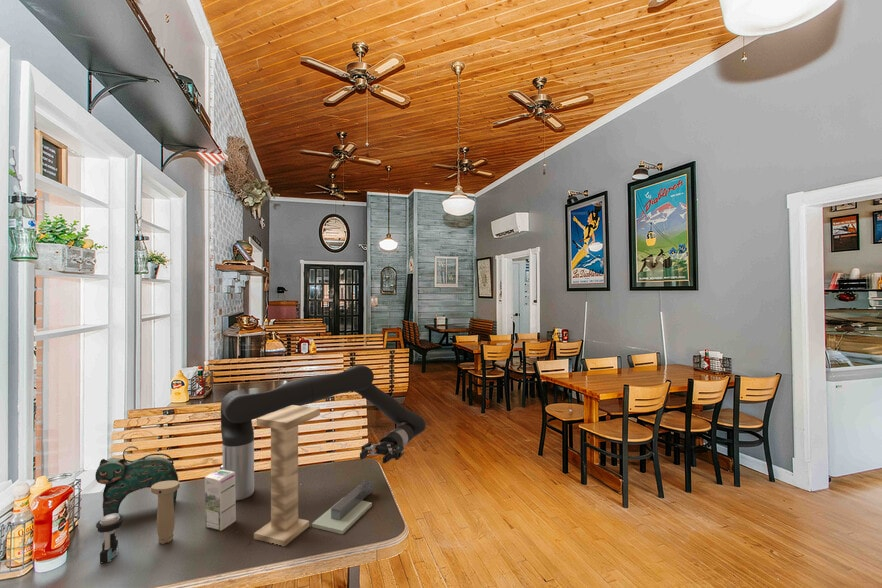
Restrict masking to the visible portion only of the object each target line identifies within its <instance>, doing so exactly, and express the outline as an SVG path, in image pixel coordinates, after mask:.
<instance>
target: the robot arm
mask: <svg viewBox="0 0 882 588" xmlns="http://www.w3.org/2000/svg"><path fill="white" fill-rule="evenodd" d="M374 378H375V374H374V372H373V370H372V369H371V367H369V366H366V365H360V364H359V365H353V366H350V367H348V368H346V370H344V371H340V372H336V373H329V374H327V373H326V374H318V375H312V376H306V377H301V378H297V379H293V380H291V381H288V382H285V383H284V384H281V385H280V386H278V387H275V388H273V389H270V390H267V391H262V392H258V393H250V394H249V393H247V391H244V390H241V389H240V390H238V389H237V390H232V391H229V392H228V393H227V394H226V395H225V396H224V397H223V399H222V400H221V403H220V433H221V439H222V441H221V442H222V445H221V446H222V449H221V450H222V465H220V468H219V470H220V469H222V470H227V471H233V472H235V494H236V502H237V501H240V500H244V499H247V498H249V497H251V496H252V495H253V494H254V491H255V433H254V428H253V420H255V419H257V418H259V417H262V416H264V415H267V414H270V413H272V412H275V411H277V410H280V409H283V408H285V407H288V406H290V405H297V406H306V405H309V404H313V403H316V402H319V401H323V400H325V399H329V398H331V397H333V396H335V395H338V394H342V393H347V392H355V393H356V394H358V395H360V396H361V397H363V399H365V400H367V401H368V402H370V403H371V404H372V405H373V406H375V407H376V408H377V409H378V410H379V411H380V412H382V414H384V416H386V417H387V418H388V419H389V420H390V421H391V422H393V423H394V424H395V425H399V424H400V425H399V426H397V427H396V428H395V429H393V430H390V431H389V432H388V433H386V434H385V435H384V436H382V437H381V439H380V441H379V442H377V443H373V441H368V442H366V443H365V444H363V445H362V446H361V447H360V449H361V451H360V452H359V458H360V460H364V459H365V458H367V457H369V456H377V455H379V456H380V455H382V456H383V457H382V464H386V463H388V462H389V461H392V460H394V461H398V460H400V458H401V457H403V456H404V453H405V446H406V445H407V444H408V443H410V442H411V441H412V440H413V438H415V437H417V436H418V435H419V434H421V433H423V432H424V431H425V430H426V428H427V424H426V420H425V419H424V418H423V417H422V416H421V415H420V414H418V413H416V412H414V411H412V410H409V409H408V408H406V407H404V406H403V405H402V404H401V403H400V402H399V401H398V400H397V399H395V398H394V397H393V396H391V395H390V394H388V393H387V392H384V391H383V390H382V389H381V388H378V387H377V386H376V385H375V384H374V383H373V382H374Z"/></svg>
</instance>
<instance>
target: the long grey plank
mask: <svg viewBox="0 0 882 588" xmlns="http://www.w3.org/2000/svg"><path fill="white" fill-rule="evenodd" d="M373 491H374V481H373V480H368V479H364V480H363V481H361V482H360V483H359V484H357V486H356V487H355V488H353V489H352V490H351V491H350V492H349V493H348V494H346V495H345V496H343V497H344V498H343V497H342V498H343V499H342V498H341V499H342V500H341V499H340V500H339V502H338V501H337V502H338V503H337V502H336V503H337V504H336V503H335V504H336V505H335V504H334V505H332V506H333V507H332V506H331V507H332V508H331V507H330V508H331V519H335V520H339V521H340V520H341V519H342V518H344V517H345V516H346V515H347V514H348V513H349V512H350V511H351V510H352V509H353V508H354V507H355V506H357V505H358V504H359V503H360V502H361V501H364V499H365V498H367V497H368V496H369V495H370V494H371V493H372V492H373Z"/></svg>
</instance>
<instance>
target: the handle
mask: <svg viewBox="0 0 882 588" xmlns="http://www.w3.org/2000/svg"><path fill="white" fill-rule="evenodd" d="M180 482H181V481H179V480H178V481H174V480H171V481H162V482H158V483H155V484H154V485H152V486H151V488H150V492H151V493H152V494H155V495H156V496H157V509H156V510H157V512H156V532H157V542H158V543H160V544H161V545H164V544H167V543H171V541H173V539H174V535H175V534H174V531H175V523H176V522H175V521H176V520H175V518H176V516H175V515H176V514H175V507H174V506H175V504H174V503H173V492H175V491H176V490H177V491H178V490H179V489H180V485H181V484H180Z"/></svg>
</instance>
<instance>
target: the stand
mask: <svg viewBox="0 0 882 588" xmlns="http://www.w3.org/2000/svg"><path fill="white" fill-rule="evenodd" d="M319 416H321V408H319V407H311V406H306V405H302V406H297V405H290V406H288V407H285V408H283V409H280V410H277V411H275V412H272V413H269V414H266V415H263V416H261V417H258V418H256V427H262V428H267V429H270V521H269V522H267V523H265V525H263V526H262V527H260V528H259V529H258V530H256V531H255V532H253V539H254V540H258V541H261V542H266V543H268V542H269V544H272V543H274V544H273V545H276V544H278V545H277V546H279V545H281V547H283V548H284V547H286V546H287V545H288V544H290V543H291V542H292V541H293V540H294V539H296V538H297V537H298V536H300V534H302V533H303V532H304V531H305V530H306V529H308V528H309V527H310V521H309V520H307V519H304V518H303V519H302V518H299V426H300V425H301V424H303V423H306V422H308V421H310V420H312V419H316V418H318V417H319Z"/></svg>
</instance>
